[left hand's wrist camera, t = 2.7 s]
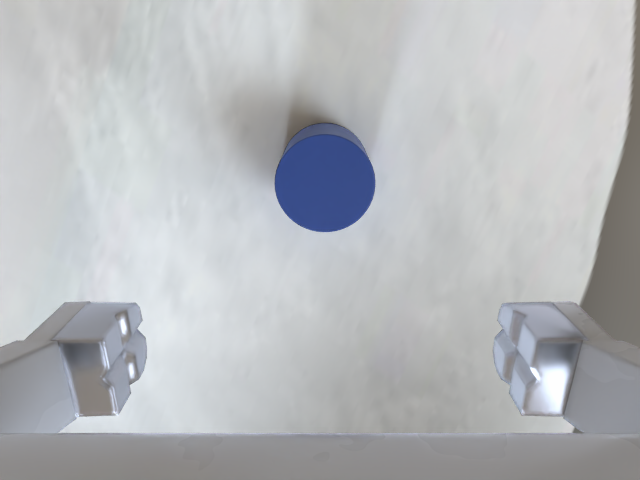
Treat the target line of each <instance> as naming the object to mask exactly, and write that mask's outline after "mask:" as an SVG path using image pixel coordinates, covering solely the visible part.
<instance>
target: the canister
mask: <svg viewBox="0 0 640 480" xmlns="http://www.w3.org/2000/svg"><path fill="white" fill-rule="evenodd" d="M275 191H276V196H277V199H278V202H279V204H280V206H281V208H282V209H283V211H284V212H285V213H286V215H287V216H288V217H289V218H290V219H291V220H293V221H294V222H295V223H297V224H298V225H300V226H302V227H304V228H306V229H309V230H312V231H317V232H332V231H337V230H341V229H344V228H346V227H348V226H350V225H352V224H353V223H355V222H356V221H357V220H359V219H360V218H361V217H362V216H363V214H364V213H365V212H366V211H367V209H368V207H369V206H370V204H371V201H372V199H373V196H374V191H375V174H374V170H373V167H372V164H371V162H370V160H369V158H368V156H367V154H366V151H365V149H364V147H363V145H362V144H361V142H360V141H359V139H358V138H357V137H356V136H355V135H354V134H353V133H352V132H350V131H349V130H348V129H346V128H344V127H342V126H339V125H336V124H331V123H319V124H314V125H311V126H308V127H306V128H304V129H302V130H301V131H299V132H298V133H297V134H296V135H295V136H294V137H293V138H292V139H291V140H290V142H289V143H288V145H287V147H286V149H285V151H284V153H283V156H282V158H281V160H280V162H279V164H278V167H277V170H276V175H275Z"/></svg>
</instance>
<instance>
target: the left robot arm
mask: <svg viewBox="0 0 640 480" xmlns="http://www.w3.org/2000/svg"><path fill="white" fill-rule="evenodd" d="M141 322H142V315H141V310H140V307H139V306H138V305H137V303H125V302H90V301H85V302H66V303H64V304H63V305H62V306H61V307H59V308H58V309H57V310H56V311H55V312H54V313H53V314H52V315H51V316H50V317H49V318H48V319H47V320H46V321H44V322H43V323H42V324H41V325H40V326H39V327H38V328H37V329H36V330H35V331H34V332H33V333H32V334H30V335H29V336H28V337H27V338H26V339H25V340H24V341H14V342H12V343H9V344H7V345H5V346H2V347H0V480H640V347H638V346H635V345H633V344H631V343H628V342H626V341H616V340H615V339H614V338H613V337H612V336H611V335H610V334H609V333H607V332H606V331H605V330H604V329H603V328H602V327H601V326H600V325H599V324H598V323H597V322H596V321H595V320H594V319H592V318H591V317H590V316H589V315H588V314H587V313H586V312H585V311H584V310H583V309H582V308H581V307H580V306H579V305H577V304H576V303H574V302H571V301H565V302H523V303H504V304H502V306H501V308H500V310H499V315H498V322H499V323H500V325H501V327H502V328H503V329H502V330H501V331H500V332H499V334H498V335H497V336H496V337H495V339H494V346H493V356H494V364H495V367H496V370H497V373H498V375H499V376H500V378H501V379H502V380H503V381H505V382H506V383H508V384H510V390H509V394H510V396H511V397H512V399H513V401H514V403H515V404H516V406H517V408H518V410H519V411H520V413H521V415H525V416H562V417H564V419H565V420H566V421H568V422H569V423H570V424H572V425H573V426H574V427H576V428H577V429H578V430H580V431H581V432H582V433H58V432H59V431H60V430H62V429H63V428H64V427H66V426H67V425H68V424H70V423H71V422H72V421H74V420H75V419H76V417H78V416H114V415H119V413H120V411H121V410H122V408H123V406H124V404H125V403H126V401H127V399H128V397H129V396H130V394H131V390H130V384H132V383H134V382H135V381H137V380H138V379H139V378H140V376H141V374H142V373H143V371H144V367H145V363H146V359H147V345H146V338H145V337H144V336H143V335H142V334H141V332H140V331H139V330H138V329H137V328H138V327H139V325H140V323H141Z"/></svg>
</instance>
